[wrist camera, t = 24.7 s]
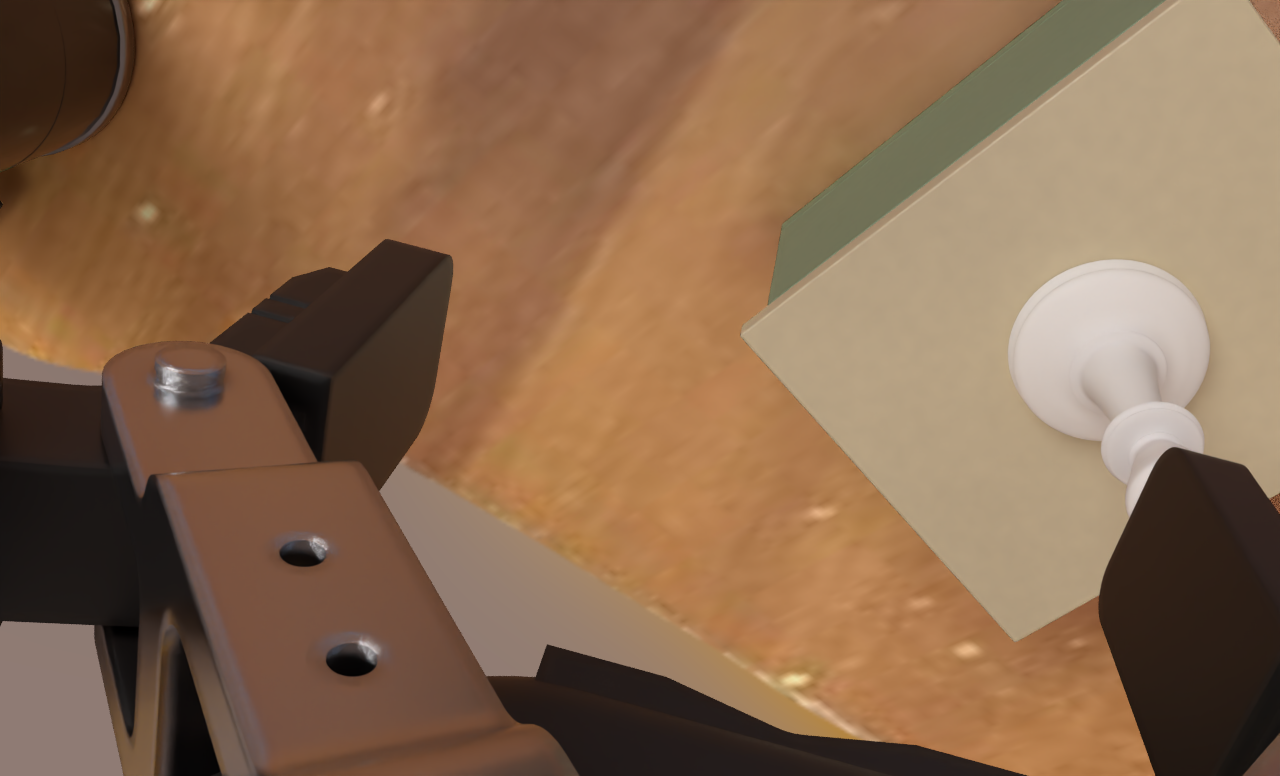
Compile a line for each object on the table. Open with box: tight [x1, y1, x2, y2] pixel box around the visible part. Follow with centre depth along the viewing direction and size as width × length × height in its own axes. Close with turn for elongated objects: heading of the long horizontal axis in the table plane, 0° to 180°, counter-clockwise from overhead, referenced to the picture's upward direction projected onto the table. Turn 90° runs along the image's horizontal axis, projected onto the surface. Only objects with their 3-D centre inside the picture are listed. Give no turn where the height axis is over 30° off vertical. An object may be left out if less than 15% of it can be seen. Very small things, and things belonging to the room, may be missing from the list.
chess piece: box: [1008, 259, 1210, 518], centre depth 27 cm, size 5×5×10 cm
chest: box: [768, 0, 1166, 305], centre depth 35 cm, size 14×13×8 cm
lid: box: [740, 0, 1280, 642], centre depth 32 cm, size 14×13×1 cm
